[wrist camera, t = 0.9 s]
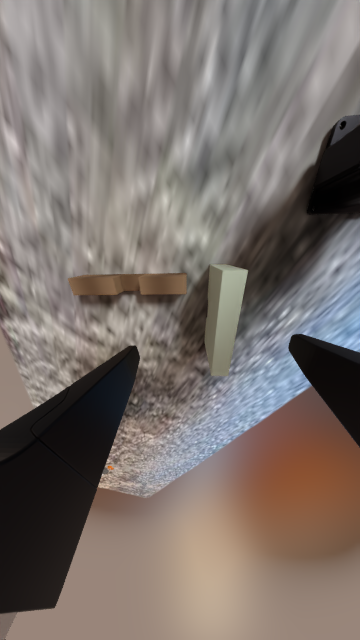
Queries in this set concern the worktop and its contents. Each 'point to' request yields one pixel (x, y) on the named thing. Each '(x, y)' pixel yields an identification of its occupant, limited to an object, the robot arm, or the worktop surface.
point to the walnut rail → (129, 284)
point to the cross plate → (223, 315)
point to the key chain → (108, 469)
